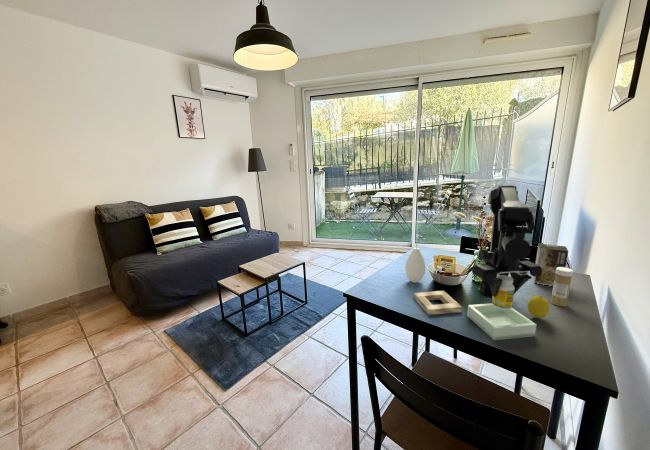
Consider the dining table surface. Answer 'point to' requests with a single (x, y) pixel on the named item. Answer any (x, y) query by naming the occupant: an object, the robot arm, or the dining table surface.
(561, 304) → the sprinkles bottle
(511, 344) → the dining table surface
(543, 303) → the lemon
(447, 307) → the socket block
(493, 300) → the supplement bottle
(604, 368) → the dining table surface
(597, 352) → the dining table surface
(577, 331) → the dining table surface
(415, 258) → the sauce bottle
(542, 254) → the coffee box
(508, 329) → the tray
